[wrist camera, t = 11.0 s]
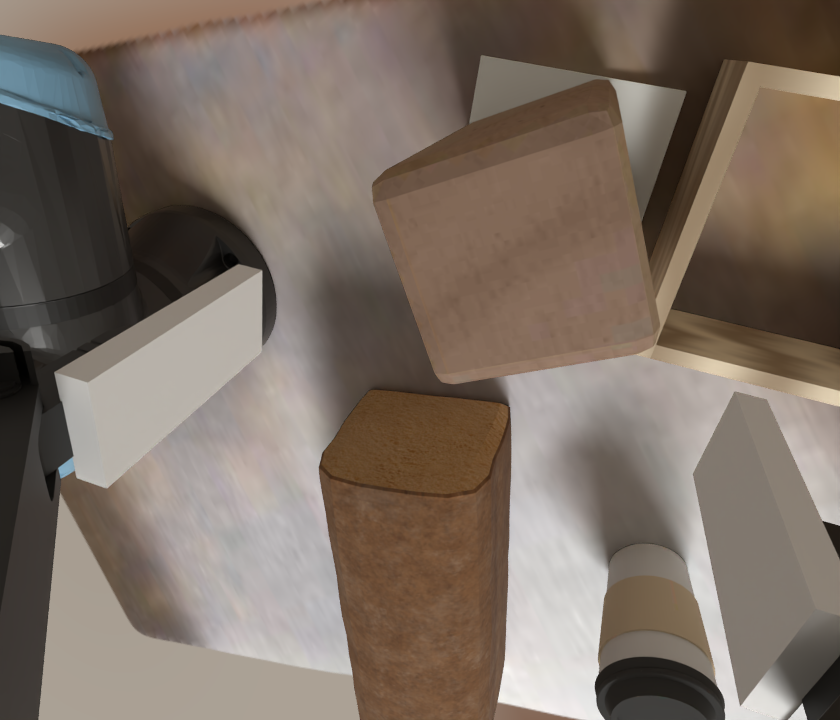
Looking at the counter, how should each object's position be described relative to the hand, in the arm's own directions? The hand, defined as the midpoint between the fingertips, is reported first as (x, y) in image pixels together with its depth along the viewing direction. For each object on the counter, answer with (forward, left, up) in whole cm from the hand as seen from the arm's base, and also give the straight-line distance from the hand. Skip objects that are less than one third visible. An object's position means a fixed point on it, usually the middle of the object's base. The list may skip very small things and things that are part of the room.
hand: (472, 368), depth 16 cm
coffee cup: (+18, -33, -29) cm, 47 cm away
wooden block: (0, 0, -28) cm, 28 cm away
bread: (-2, -37, -29) cm, 47 cm away
